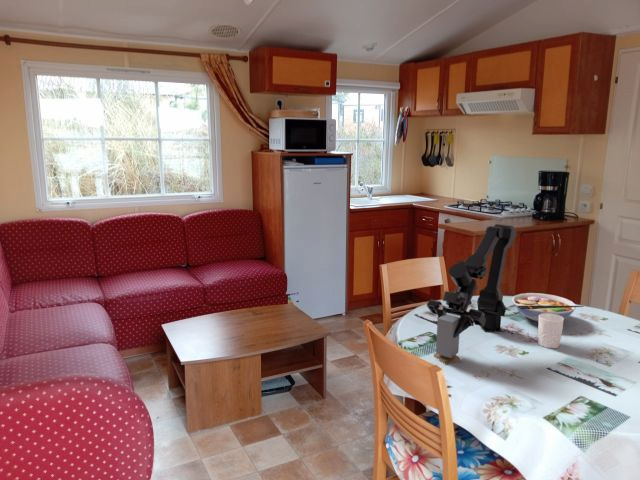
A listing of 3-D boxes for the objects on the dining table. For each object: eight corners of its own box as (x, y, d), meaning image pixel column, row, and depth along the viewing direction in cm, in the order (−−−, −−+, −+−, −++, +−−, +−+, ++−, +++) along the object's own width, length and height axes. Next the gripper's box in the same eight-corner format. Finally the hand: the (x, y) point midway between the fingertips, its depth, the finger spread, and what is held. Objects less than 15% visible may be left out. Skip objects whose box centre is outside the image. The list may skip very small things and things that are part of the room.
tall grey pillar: (443, 348, 167) (445, 314, 165) (458, 352, 164) (460, 317, 161) (436, 353, 163) (437, 318, 161) (450, 357, 160) (452, 322, 158)
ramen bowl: (558, 309, 209) (560, 290, 207) (589, 330, 186) (592, 309, 185) (499, 310, 208) (500, 291, 206) (522, 332, 185) (524, 310, 184)
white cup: (561, 342, 176) (563, 315, 174) (561, 350, 169) (564, 322, 167) (536, 338, 180) (539, 311, 177) (535, 346, 173) (538, 319, 170)
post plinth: (449, 353, 168) (450, 338, 167) (460, 361, 162) (461, 345, 161) (433, 356, 166) (434, 340, 165) (444, 363, 160) (444, 347, 159)
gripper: (430, 276, 168) (411, 316, 162) (484, 286, 156) (466, 331, 150) (441, 293, 175) (423, 332, 169) (493, 304, 163) (476, 347, 157)
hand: (446, 335), depth 161 cm, fingers closed on tall grey pillar, 5 cm apart
